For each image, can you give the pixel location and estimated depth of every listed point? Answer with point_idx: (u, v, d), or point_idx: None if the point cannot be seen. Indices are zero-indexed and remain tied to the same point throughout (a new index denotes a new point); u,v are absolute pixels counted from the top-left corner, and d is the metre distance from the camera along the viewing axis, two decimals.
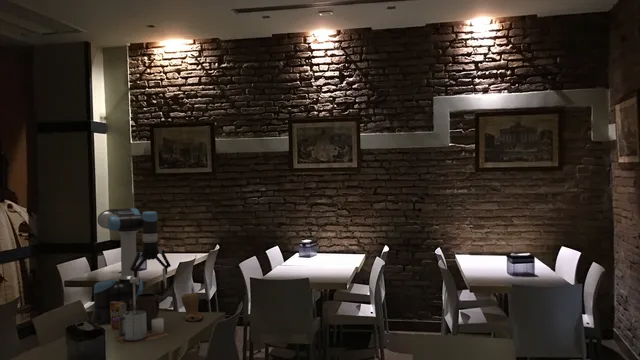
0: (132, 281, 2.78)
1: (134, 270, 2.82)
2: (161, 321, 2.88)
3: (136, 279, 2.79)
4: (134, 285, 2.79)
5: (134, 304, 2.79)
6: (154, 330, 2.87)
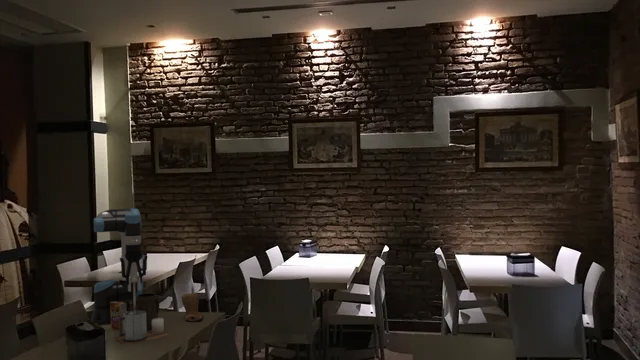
0: (132, 281, 2.78)
1: (126, 277, 2.77)
2: (161, 321, 2.88)
3: (136, 279, 2.79)
4: (134, 285, 2.79)
5: (134, 304, 2.79)
6: (154, 330, 2.87)
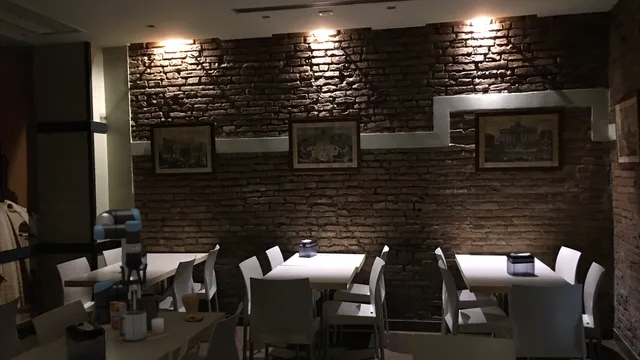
0: (132, 289, 2.78)
1: (126, 285, 2.77)
2: (161, 321, 2.88)
3: (136, 287, 2.79)
4: (134, 293, 2.79)
5: (134, 312, 2.79)
6: (154, 330, 2.87)
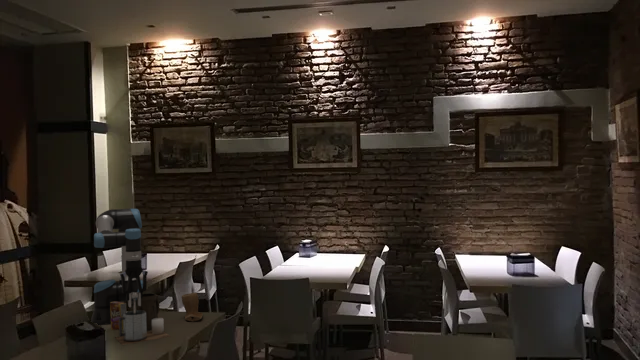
0: (132, 297, 2.78)
1: (126, 293, 2.77)
2: (161, 321, 2.88)
3: (136, 295, 2.79)
4: (134, 300, 2.79)
5: None
6: (154, 330, 2.87)
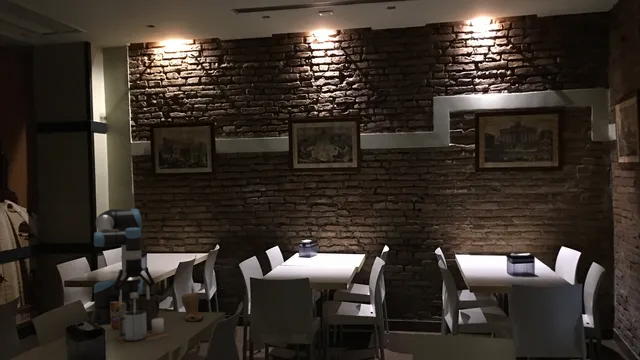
0: (132, 297, 2.78)
1: (117, 288, 2.75)
2: (161, 321, 2.88)
3: (136, 295, 2.79)
4: (134, 301, 2.79)
5: None
6: (154, 330, 2.87)
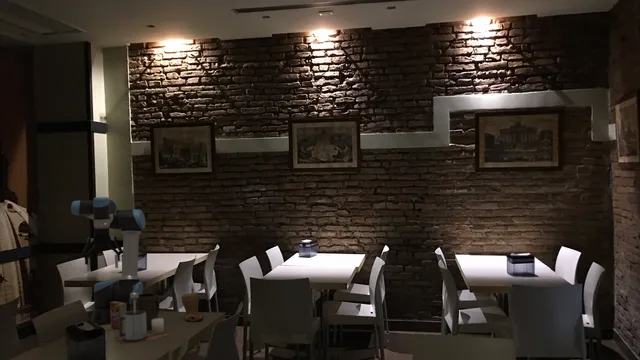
0: (132, 297, 2.78)
1: (85, 256, 2.77)
2: (161, 321, 2.88)
3: (136, 295, 2.79)
4: (134, 301, 2.79)
5: None
6: (154, 330, 2.87)
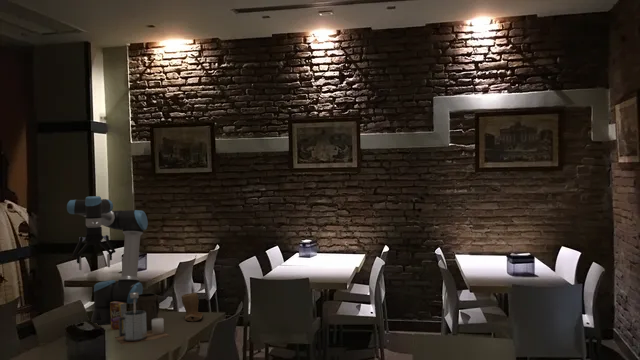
0: (132, 297, 2.78)
1: (76, 255, 2.78)
2: (161, 321, 2.88)
3: (136, 295, 2.79)
4: (134, 301, 2.79)
5: None
6: (154, 330, 2.87)
